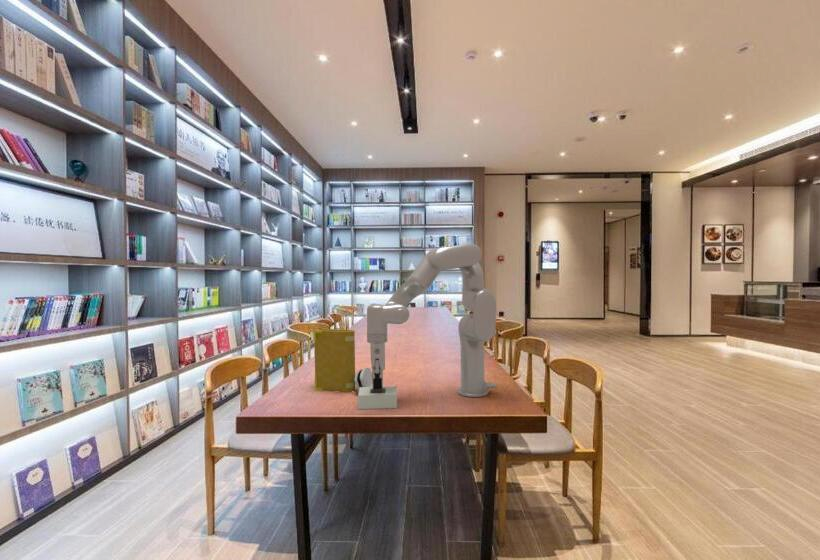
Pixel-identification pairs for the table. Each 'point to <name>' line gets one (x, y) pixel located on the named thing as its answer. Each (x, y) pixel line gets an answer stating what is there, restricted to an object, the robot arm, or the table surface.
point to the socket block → (377, 398)
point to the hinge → (363, 378)
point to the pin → (382, 383)
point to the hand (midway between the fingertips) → (377, 386)
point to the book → (334, 360)
